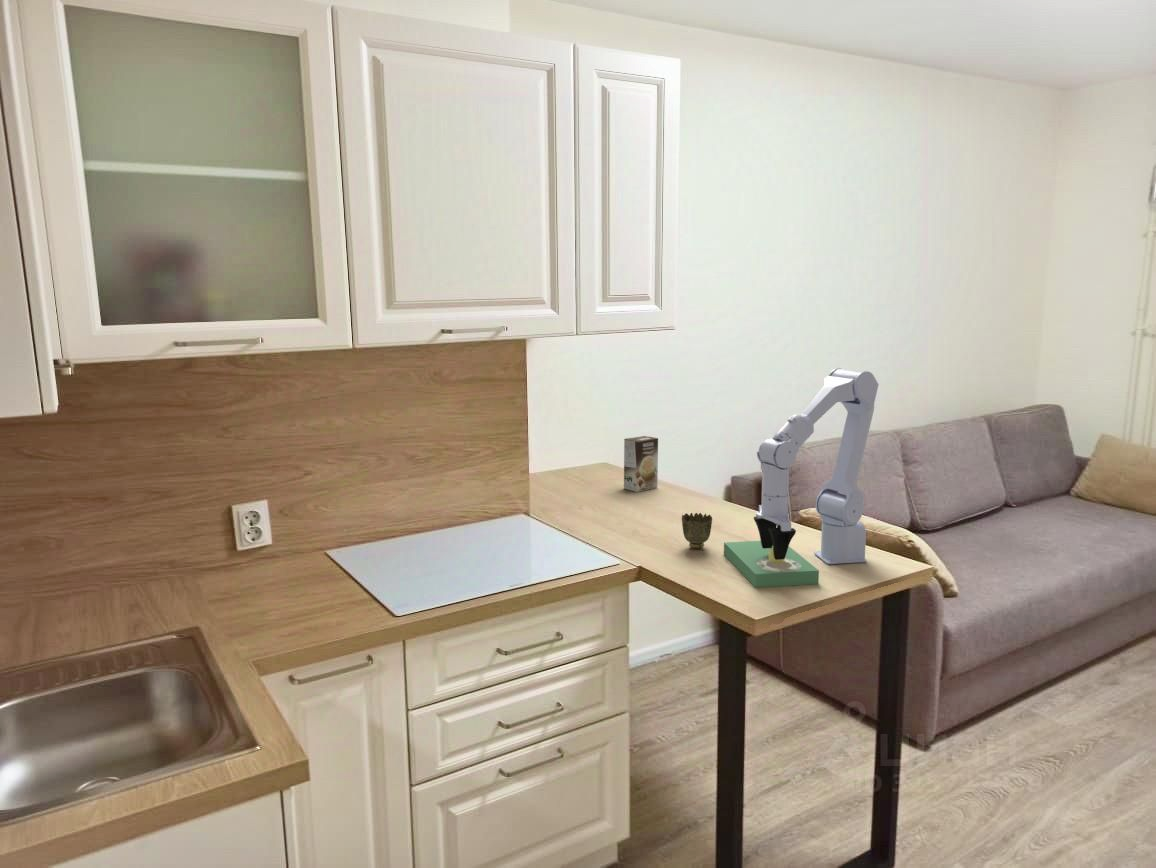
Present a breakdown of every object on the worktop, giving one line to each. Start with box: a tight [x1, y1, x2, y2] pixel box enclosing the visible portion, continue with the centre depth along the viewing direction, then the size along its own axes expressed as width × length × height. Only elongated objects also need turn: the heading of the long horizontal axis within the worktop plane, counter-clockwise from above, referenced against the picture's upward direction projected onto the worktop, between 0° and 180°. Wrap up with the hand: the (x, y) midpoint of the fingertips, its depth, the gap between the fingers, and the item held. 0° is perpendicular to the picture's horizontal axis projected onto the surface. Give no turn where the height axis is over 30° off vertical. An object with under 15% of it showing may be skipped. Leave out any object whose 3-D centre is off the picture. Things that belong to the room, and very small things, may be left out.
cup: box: [681, 512, 713, 550], centre depth 202 cm, size 8×7×8 cm
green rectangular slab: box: [723, 540, 820, 589], centre depth 187 cm, size 14×22×3 cm, turn 8°
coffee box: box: [623, 435, 659, 493], centre depth 260 cm, size 9×6×16 cm
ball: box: [769, 548, 785, 564], centre depth 183 cm, size 4×4×4 cm
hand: (773, 553), depth 184 cm, fingers open, 7 cm apart
